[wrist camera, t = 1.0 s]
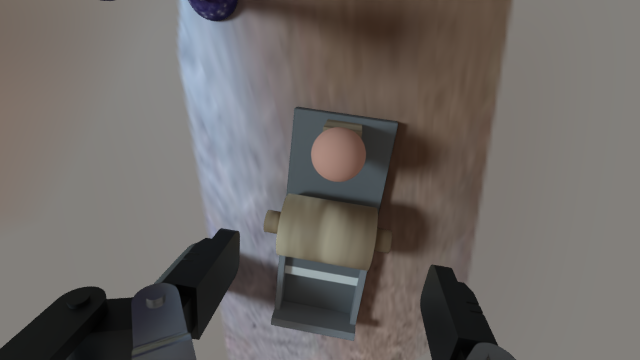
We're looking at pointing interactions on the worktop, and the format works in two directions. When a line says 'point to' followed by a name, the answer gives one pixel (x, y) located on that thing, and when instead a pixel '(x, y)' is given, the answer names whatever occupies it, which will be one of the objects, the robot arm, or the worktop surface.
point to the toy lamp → (212, 8)
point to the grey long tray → (364, 189)
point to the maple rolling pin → (327, 231)
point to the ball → (338, 154)
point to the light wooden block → (344, 126)
